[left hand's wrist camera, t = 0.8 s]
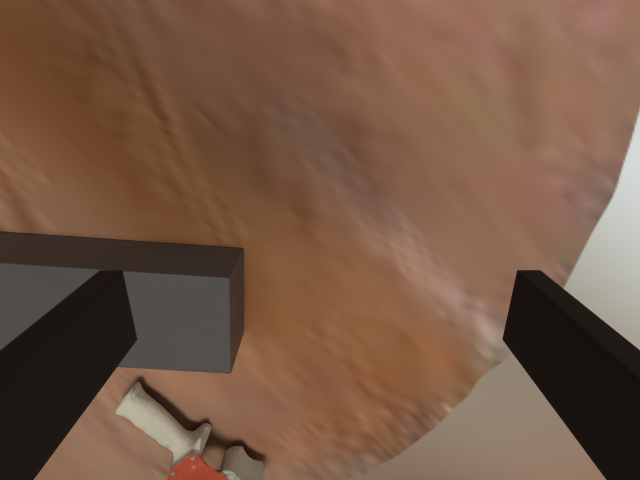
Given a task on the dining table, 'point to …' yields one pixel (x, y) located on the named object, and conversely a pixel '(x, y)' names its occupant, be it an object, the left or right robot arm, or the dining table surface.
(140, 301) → the slab
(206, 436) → the tape dispenser
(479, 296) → the dining table surface
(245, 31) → the dining table surface
